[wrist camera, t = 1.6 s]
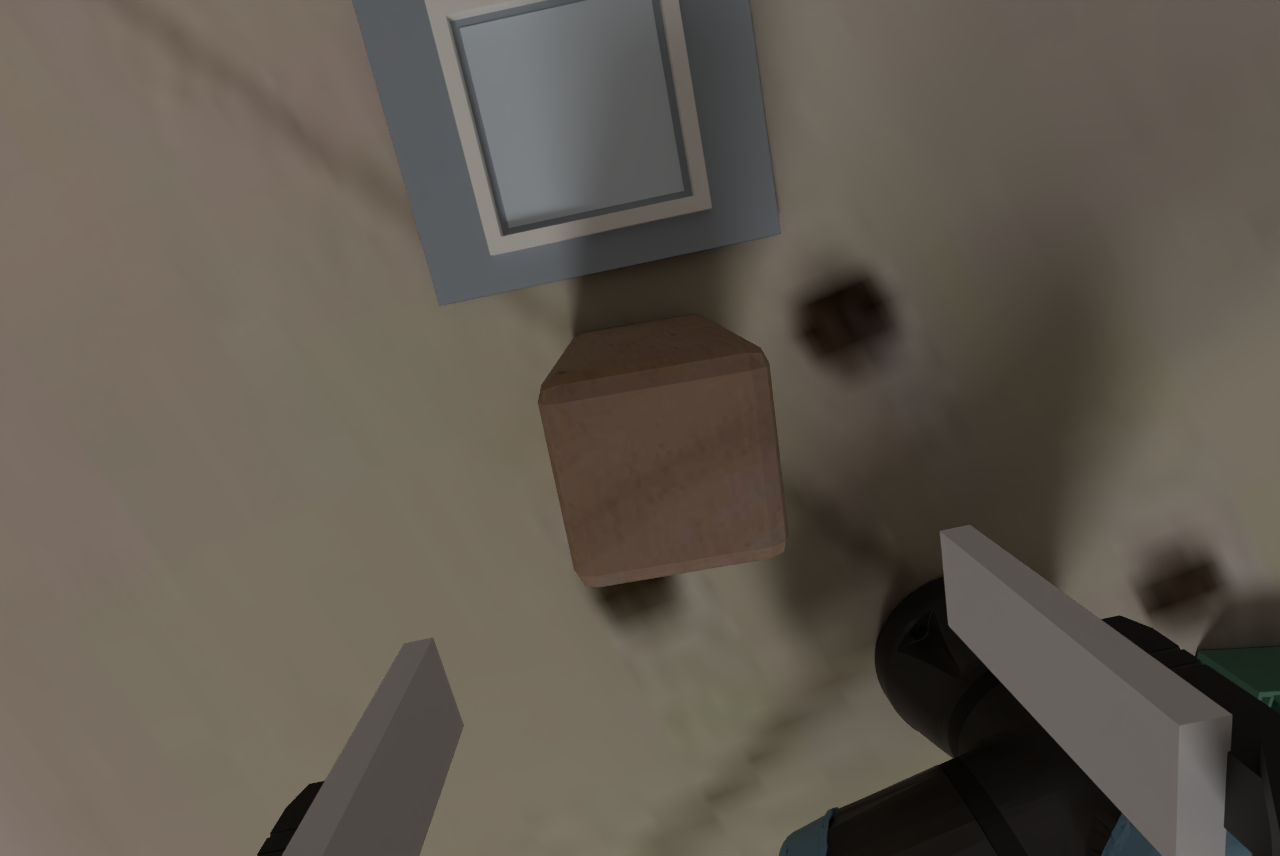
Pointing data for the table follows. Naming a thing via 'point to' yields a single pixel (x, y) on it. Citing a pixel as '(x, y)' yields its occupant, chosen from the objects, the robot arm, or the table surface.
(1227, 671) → the maze
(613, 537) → the wooden block
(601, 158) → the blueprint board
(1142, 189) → the table surface
